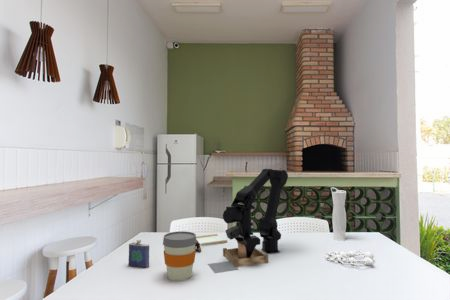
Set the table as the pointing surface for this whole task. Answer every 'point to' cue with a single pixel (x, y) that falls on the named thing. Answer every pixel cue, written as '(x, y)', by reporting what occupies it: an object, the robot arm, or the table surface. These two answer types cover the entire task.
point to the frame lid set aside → (210, 240)
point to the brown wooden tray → (255, 259)
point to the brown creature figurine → (198, 246)
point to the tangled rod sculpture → (343, 255)
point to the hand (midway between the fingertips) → (244, 256)
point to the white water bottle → (339, 214)
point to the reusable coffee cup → (179, 254)
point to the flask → (138, 255)
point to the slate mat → (222, 267)
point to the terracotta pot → (241, 250)
